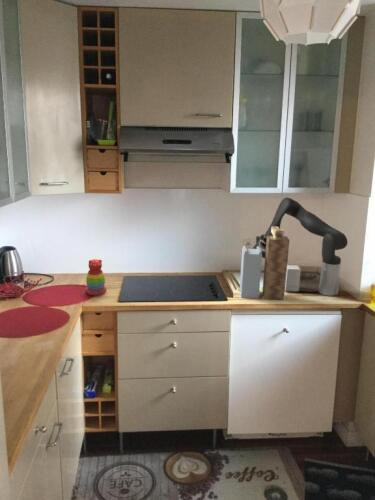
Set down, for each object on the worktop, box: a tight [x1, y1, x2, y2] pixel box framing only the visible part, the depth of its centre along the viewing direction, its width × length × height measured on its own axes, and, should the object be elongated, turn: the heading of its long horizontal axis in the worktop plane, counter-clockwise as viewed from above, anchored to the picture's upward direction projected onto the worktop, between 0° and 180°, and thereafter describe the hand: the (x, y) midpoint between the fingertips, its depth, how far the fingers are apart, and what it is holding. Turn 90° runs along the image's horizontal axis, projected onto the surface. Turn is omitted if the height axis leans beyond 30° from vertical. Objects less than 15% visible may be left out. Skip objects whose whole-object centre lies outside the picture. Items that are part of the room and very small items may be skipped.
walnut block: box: [261, 235, 290, 301], centre depth 220 cm, size 10×7×32 cm
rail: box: [271, 226, 286, 240], centre depth 219 cm, size 4×15×4 cm, turn 179°
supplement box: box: [285, 264, 302, 292], centre depth 236 cm, size 7×7×13 cm
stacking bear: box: [84, 258, 107, 296], centre depth 223 cm, size 11×10×18 cm
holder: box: [239, 245, 263, 299], centre depth 225 cm, size 9×10×25 cm
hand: (271, 236), depth 236 cm, fingers open, 8 cm apart
